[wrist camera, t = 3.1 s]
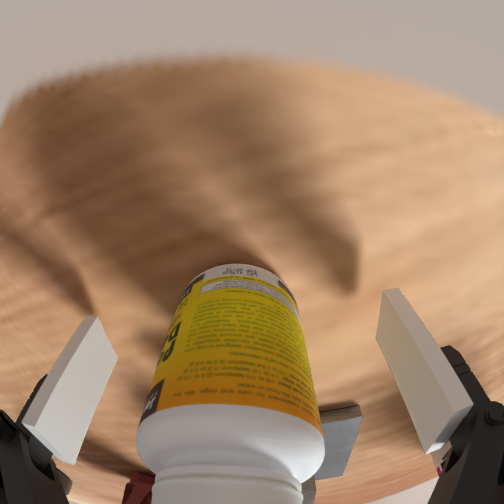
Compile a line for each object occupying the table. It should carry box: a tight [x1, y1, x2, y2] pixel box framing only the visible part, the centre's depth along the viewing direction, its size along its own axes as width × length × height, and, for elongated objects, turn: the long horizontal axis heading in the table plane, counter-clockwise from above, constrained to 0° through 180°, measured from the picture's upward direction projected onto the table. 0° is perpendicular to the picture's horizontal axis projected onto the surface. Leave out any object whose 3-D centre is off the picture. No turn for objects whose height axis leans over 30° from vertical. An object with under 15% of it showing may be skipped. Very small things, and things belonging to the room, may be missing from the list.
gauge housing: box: [301, 405, 362, 504], centre depth 18 cm, size 14×12×6 cm
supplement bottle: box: [136, 263, 325, 504], centre depth 9 cm, size 6×6×10 cm
